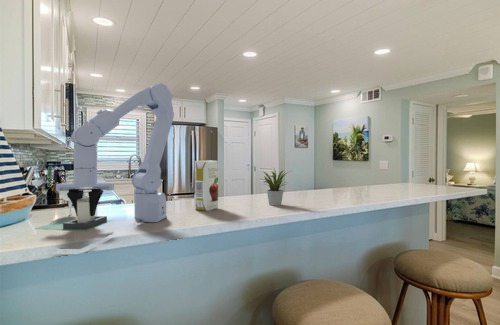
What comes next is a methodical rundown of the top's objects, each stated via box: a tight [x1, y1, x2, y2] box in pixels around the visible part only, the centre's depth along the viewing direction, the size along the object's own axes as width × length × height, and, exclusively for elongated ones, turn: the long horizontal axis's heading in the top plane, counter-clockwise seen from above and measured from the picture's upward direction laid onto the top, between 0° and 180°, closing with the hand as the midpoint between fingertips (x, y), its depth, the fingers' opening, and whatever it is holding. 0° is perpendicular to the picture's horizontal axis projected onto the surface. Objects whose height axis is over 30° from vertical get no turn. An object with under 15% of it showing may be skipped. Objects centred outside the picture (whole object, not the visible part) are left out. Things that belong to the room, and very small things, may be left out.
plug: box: [76, 196, 96, 223], centre depth 81 cm, size 5×3×7 cm, turn 11°
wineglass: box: [59, 180, 81, 216], centre depth 94 cm, size 6×6×12 cm
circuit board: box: [34, 215, 113, 231], centre depth 81 cm, size 15×12×2 cm
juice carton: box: [194, 160, 219, 212], centre depth 110 cm, size 8×9×19 cm
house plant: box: [262, 168, 292, 207], centre depth 121 cm, size 14×14×16 cm
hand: (86, 215), depth 81 cm, fingers closed on plug, 3 cm apart
